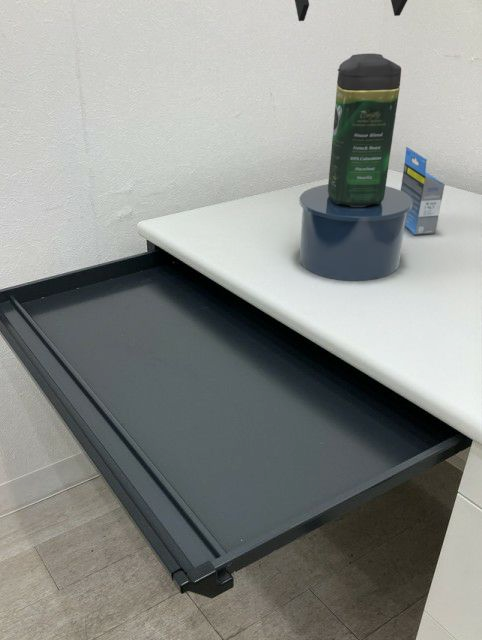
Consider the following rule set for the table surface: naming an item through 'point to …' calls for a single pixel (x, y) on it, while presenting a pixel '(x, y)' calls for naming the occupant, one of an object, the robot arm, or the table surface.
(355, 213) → the pot
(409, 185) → the tape cartridge
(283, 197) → the table surface
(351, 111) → the coffee jar
